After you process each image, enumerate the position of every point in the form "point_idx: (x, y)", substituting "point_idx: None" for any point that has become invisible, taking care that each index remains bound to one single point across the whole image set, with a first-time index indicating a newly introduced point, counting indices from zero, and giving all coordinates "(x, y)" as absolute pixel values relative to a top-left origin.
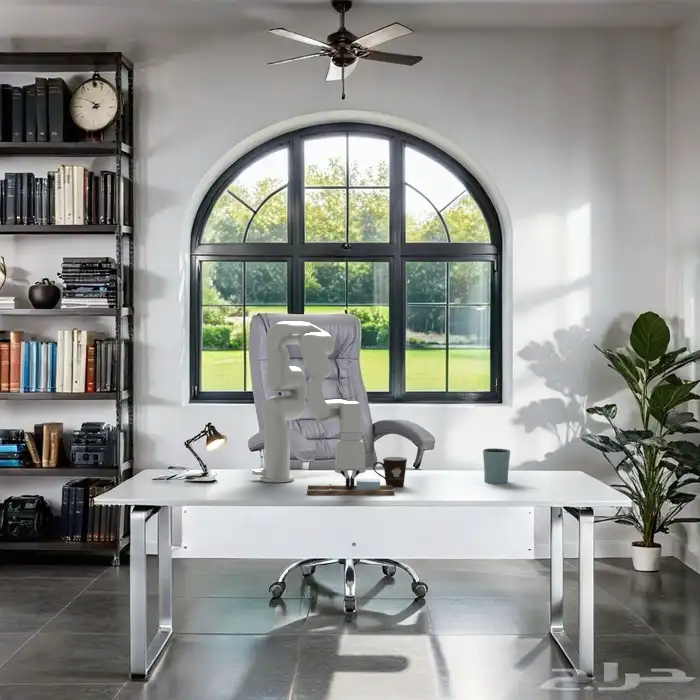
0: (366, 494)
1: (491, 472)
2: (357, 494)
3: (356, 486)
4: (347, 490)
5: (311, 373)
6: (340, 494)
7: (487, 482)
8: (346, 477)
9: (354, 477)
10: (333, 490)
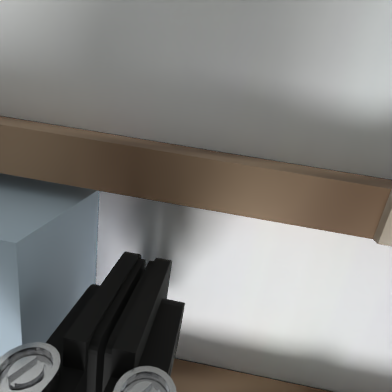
0: (6, 118)
1: None
2: (93, 131)
3: None
4: (189, 162)
5: None
6: (269, 160)
7: None
8: (151, 390)
9: (18, 362)
10: (363, 191)
